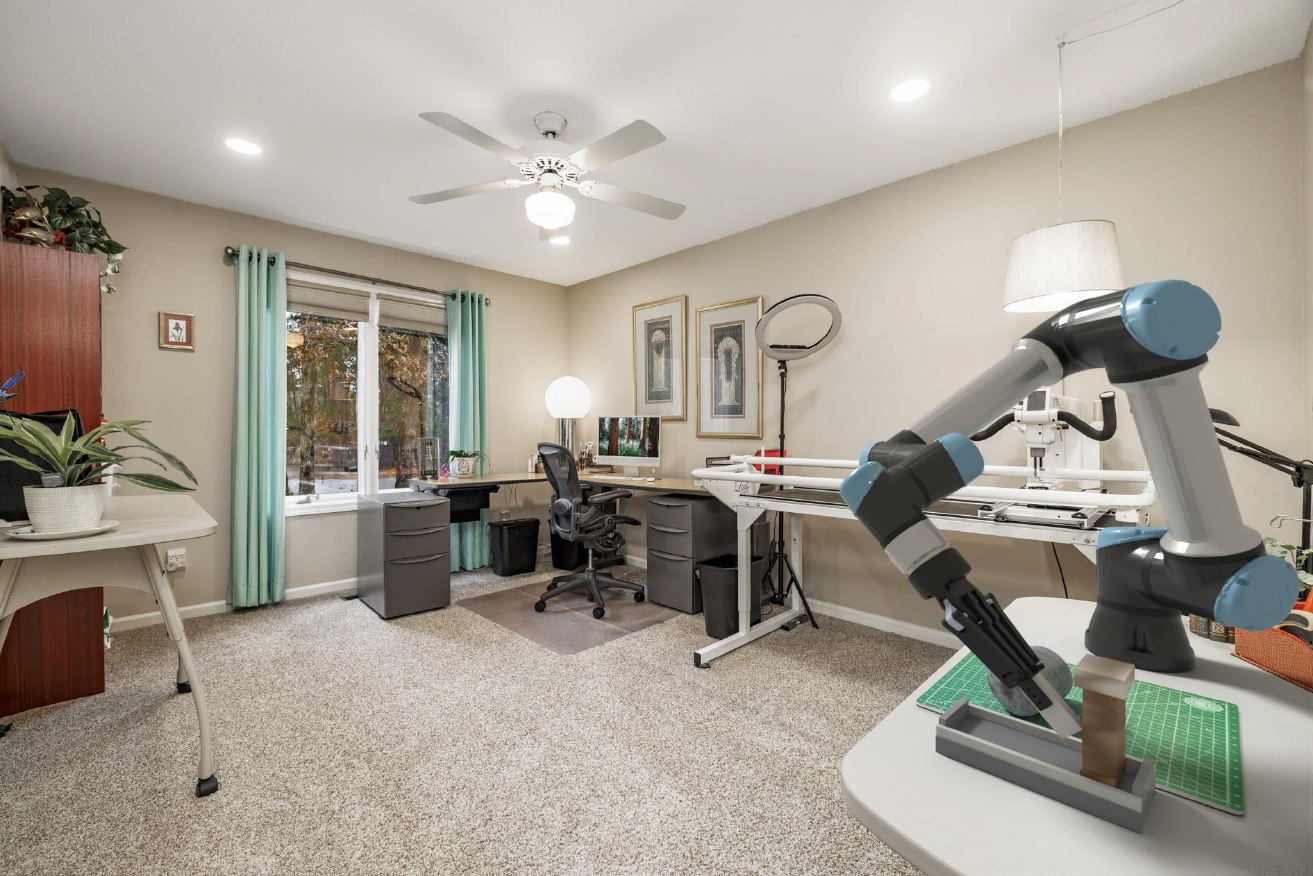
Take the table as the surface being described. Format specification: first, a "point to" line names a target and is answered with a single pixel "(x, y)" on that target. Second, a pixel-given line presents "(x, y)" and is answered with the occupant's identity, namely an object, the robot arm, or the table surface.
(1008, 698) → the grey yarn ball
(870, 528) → the robot arm
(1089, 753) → the block
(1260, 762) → the table surface
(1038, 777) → the gray rectangular tray
